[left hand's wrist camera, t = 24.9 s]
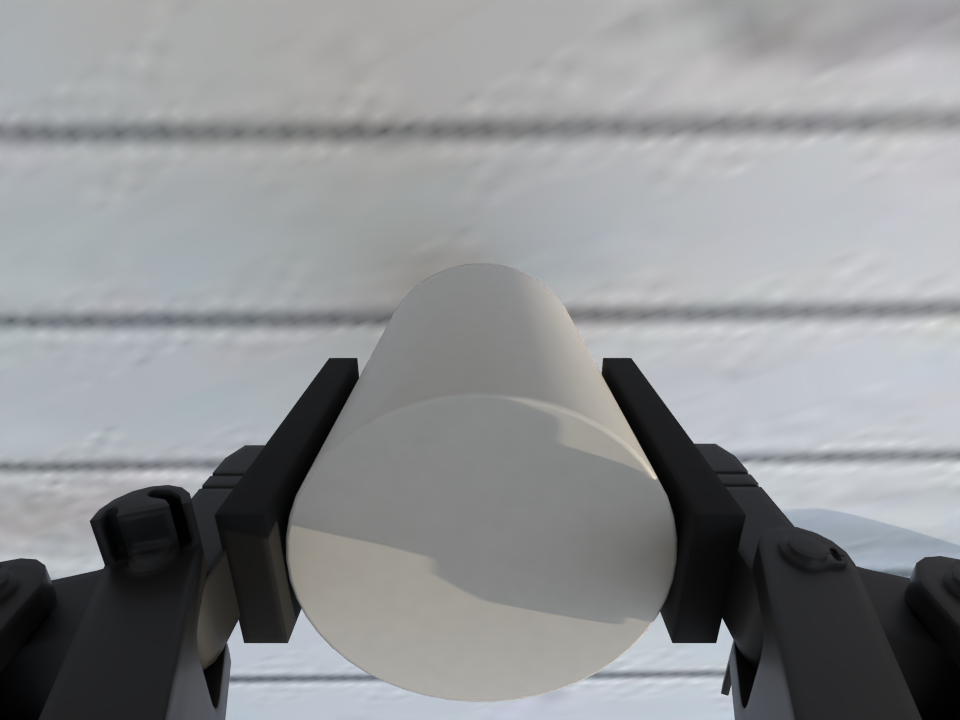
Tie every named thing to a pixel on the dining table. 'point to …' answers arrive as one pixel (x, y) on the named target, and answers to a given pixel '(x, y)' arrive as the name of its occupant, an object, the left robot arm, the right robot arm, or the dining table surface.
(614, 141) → the dining table surface
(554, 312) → the canister
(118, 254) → the dining table surface
